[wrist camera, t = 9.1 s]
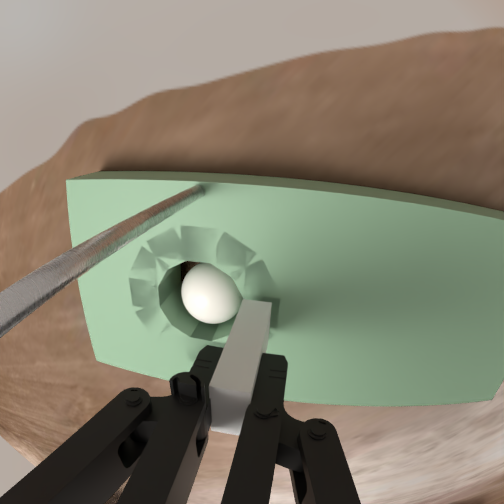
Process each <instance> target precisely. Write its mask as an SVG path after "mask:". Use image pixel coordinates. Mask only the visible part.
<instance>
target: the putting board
mask: <svg viewBox="0 0 504 504" xmlns="http://www.w3.org/2000/svg"><path fill="white" fill-rule="evenodd" d="M195 185H202V186H203V187H204V189H205V194H204V196H203V197H201V198H200V199H198V200H196V201H195V202H193V203H191V204H190V205H188V206H186V207H185V208H183V209H182V210H180V211H178V212H177V213H175V214H173V215H172V216H170V217H169V218H167V219H166V220H164V221H162V222H161V223H159V224H158V225H156V226H154V227H153V228H151V229H150V230H148V231H147V232H145V233H144V234H142V235H141V236H139V237H138V238H136V239H135V240H133V241H131V242H130V243H128V244H127V245H125V246H124V247H122V248H121V249H120V250H118V251H117V252H115V253H114V254H112V255H111V256H109V257H108V258H106V259H105V260H103V261H102V262H100V263H99V264H98V265H96V266H95V267H93V268H92V269H90V270H89V271H88V272H86V273H85V274H83V275H82V276H81V277H79V278H78V284H79V289H80V294H81V299H82V304H83V309H84V313H85V318H86V322H87V326H88V330H89V334H90V338H91V342H92V346H93V350H94V353H95V357H96V360H97V361H99V362H103V363H106V364H109V365H112V366H116V367H119V368H123V369H126V370H130V371H133V372H137V373H141V374H145V375H148V376H152V377H156V378H160V379H165V380H170V378H171V377H172V376H173V375H175V374H177V373H181V372H189V371H190V369H191V367H192V366H193V363H194V361H195V360H196V357H197V355H198V353H199V351H200V350H201V349H203V348H204V347H205V346H207V345H210V346H216V347H222V348H224V346H225V344H226V341H227V339H228V336H229V334H230V331H231V329H232V326H233V324H234V321H235V319H236V316H237V314H236V315H235V316H233V317H232V318H231V319H229V320H227V321H225V322H222V323H217V324H210V323H205V322H202V321H199V320H197V319H196V318H195V317H193V316H192V315H191V314H190V313H189V312H188V310H187V309H186V307H185V306H184V303H183V300H182V295H181V289H182V281H181V265H180V263H183V262H185V261H194V262H202V263H211V264H212V265H214V266H215V267H217V268H218V269H220V270H221V271H223V272H224V273H226V274H227V275H229V276H230V277H232V279H233V280H234V282H235V284H236V286H237V288H238V289H239V291H240V293H241V295H242V296H243V298H244V299H247V300H255V301H264V302H272V307H271V318H270V328H269V338H268V346H267V351H266V353H269V354H277V355H284V356H285V358H286V360H287V362H288V369H287V378H286V386H285V395H284V400H285V401H295V402H305V403H317V404H331V405H350V406H428V405H445V404H459V403H469V402H479V401H487V400H492V399H493V397H494V395H495V394H496V392H497V390H498V389H499V387H500V385H501V384H502V382H503V380H504V212H503V211H499V210H494V209H490V208H485V207H481V206H476V205H471V204H466V203H461V202H456V201H451V200H445V199H440V198H434V197H429V196H423V195H417V194H411V193H405V192H398V191H392V190H385V189H378V188H371V187H364V186H356V185H348V184H340V183H331V182H322V181H313V180H303V179H292V178H281V177H269V176H255V175H240V174H223V173H202V172H171V171H99V172H94V173H90V174H86V175H82V176H79V177H75V178H71V179H67V180H66V188H67V201H68V213H69V222H70V231H71V239H72V247H73V248H74V247H76V246H77V245H79V244H81V243H83V242H84V241H86V240H88V239H90V238H92V237H93V236H95V235H97V234H99V233H101V232H103V231H105V230H106V229H108V228H110V227H112V226H114V225H116V224H118V223H120V222H121V221H123V220H125V219H127V218H129V217H131V216H133V215H135V214H137V213H139V212H141V211H143V210H145V209H147V208H149V207H151V206H153V205H155V204H157V203H159V202H161V201H163V200H165V199H167V198H169V197H171V196H173V195H176V194H178V193H180V192H182V191H184V190H186V189H188V188H190V187H193V186H195ZM237 313H238V312H237Z"/></svg>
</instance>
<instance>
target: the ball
mask: <svg viewBox="0 0 504 504" xmlns="http://www.w3.org/2000/svg"><path fill="white" fill-rule="evenodd" d="M181 295H182V300H183V303H184V306H185V307H186V309H187V310H188V312H189V313H190V314H191V315H192V316H193V317H195V318H196V319H197V320H199V321H202V322H205V323H210V324H217V323H222V322H225V321H227V320H229V319H231V318H232V317H233V316H235V315H236V314H237V312H238V311H239V308H240V306H241V303H242V301H243V299H244V298H243V296H242V295H241V293H240V291H239V289H238V288H237V286H236V284H235V282H234V280H233V279H232V277H230V276H229V275H227V274H226V273H224V272H223V271H221V270H220V269H218V268H217V267H215V266H214V265H212V264H211V263H202V262H201V263H199V264H197V265H195V266H194V267H193V268H192V269H191V270H190V271H189V272H188V273H187V274H186V276H185V278H184V280H183V283H182V289H181Z"/></svg>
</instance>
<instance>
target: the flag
mask: <svg viewBox="0 0 504 504" xmlns="http://www.w3.org/2000/svg"><path fill="white" fill-rule="evenodd" d="M204 194H205V189H204V187H203V186H202V185H195V186H193V187H190V188H188V189H186V190H184V191H182V192H180V193H178V194H176V195H173V196H171V197H169V198H167V199H165V200H163V201H161V202H159V203H157V204H155V205H153V206H151V207H149V208H147V209H145V210H143V211H141V212H139V213H137V214H135V215H133V216H131V217H129V218H127V219H125V220H123V221H121V222H120V223H118V224H116V225H114V226H112V227H110V228H108V229H106V230H105V231H103V232H101V233H99V234H97V235H95V236H93V237H92V238H90V239H88V240H86V241H84V242H83V243H81V244H79V245H77V246H76V247H74V248H72V249H70V250H69V251H67V252H65V253H63V254H62V255H60V256H58V257H57V258H55V259H53V260H52V261H50V262H48V263H47V264H45V265H43V266H42V267H40V268H38V269H37V270H35V271H33V272H32V273H30V274H29V275H27V276H25V277H24V278H22V279H21V280H19V281H17V282H16V283H14V284H13V285H11V286H10V287H8V288H7V289H5V290H4V291H2V292H1V293H0V338H1V337H2V336H3V335H5V334H6V333H7V332H8V331H10V330H11V329H12V328H13V327H15V326H16V325H17V324H18V323H20V322H21V321H22V320H23V319H25V318H26V317H27V316H28V315H30V314H31V313H32V312H34V311H35V310H36V309H37V308H39V307H40V306H41V305H43V304H44V303H45V302H47V301H48V300H49V299H51V298H52V297H53V296H55V295H56V294H57V293H59V292H60V291H61V290H63V289H64V288H65V287H67V286H68V285H70V284H71V283H72V282H74V281H75V280H76V279H78V278H79V277H81V276H82V275H83V274H85V273H86V272H88V271H89V270H90V269H92V268H93V267H95V266H96V265H98V264H99V263H100V262H102V261H103V260H105V259H106V258H108V257H109V256H111V255H112V254H114V253H115V252H117V251H118V250H120V249H121V248H122V247H124V246H125V245H127V244H128V243H130V242H131V241H133V240H135V239H136V238H138V237H139V236H141V235H142V234H144V233H145V232H147V231H148V230H150V229H151V228H153V227H154V226H156V225H158V224H159V223H161V222H162V221H164V220H166V219H167V218H169V217H170V216H172V215H173V214H175V213H177V212H178V211H180V210H182V209H183V208H185V207H186V206H188V205H190V204H191V203H193V202H195V201H196V200H198V199H200V198H201V197H203V196H204Z"/></svg>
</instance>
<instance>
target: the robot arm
mask: <svg viewBox="0 0 504 504" xmlns="http://www.w3.org/2000/svg"><path fill="white" fill-rule="evenodd" d="M271 307H272V302H264V301H255V300H247V299H243V301H242V303H241V306H240V308H239V311H238V313H237V316H236V319H235V321H234V324H233V326H232V329H231V331H230V334H229V336H228V339H227V341H226V344H225V346H224V348H222V347H216V346H210V345H207V346H205V347H204V348H203V349H201V350H200V351H199V353H198V355H197V357H196V360H195V361H194V363H193V366H192V367H191V369H190V371H189V372H181V373H177V374H175V375H173V376H172V377H171V378H170V380H169V382H170V388H171V394H172V395H170V396H165V397H150V396H149V394H148V392H146V391H145V390H144V389H141V388H128V389H125V390H124V391H122V392H120V393H119V394H118V395H117V396H116V397H115V398H114V399H113V400H112V401H110V402H109V403H108V404H107V405H106V406H105V407H104V408H103V409H101V410H100V411H99V412H98V413H97V414H96V415H95V416H94V417H92V418H91V419H90V420H89V421H88V422H87V423H86V424H85V425H83V426H82V427H81V428H80V429H79V430H78V431H77V432H75V433H74V434H73V435H72V436H71V437H70V438H69V439H68V440H66V441H65V442H64V443H63V444H62V445H61V446H60V447H58V448H57V449H56V450H55V451H54V452H53V453H51V454H50V455H49V456H48V457H47V458H46V459H45V460H43V461H42V462H41V463H40V464H39V465H38V466H37V467H35V468H34V469H33V470H32V471H31V472H30V473H28V474H27V475H26V476H25V477H24V478H23V479H21V480H20V481H19V482H18V483H17V484H16V485H14V486H13V487H12V488H11V489H10V490H9V491H7V492H6V493H5V494H4V495H3V496H2V497H0V504H105V503H106V501H107V500H108V499H109V498H110V497H111V496H112V495H113V494H114V493H115V492H116V491H117V490H118V489H119V488H120V486H121V485H122V484H123V483H124V482H125V481H126V480H127V479H128V478H129V477H130V478H129V480H128V482H127V484H126V486H125V488H124V490H123V492H122V494H121V496H120V498H119V500H118V502H117V504H186V503H187V500H188V497H189V494H190V492H191V489H192V486H193V483H194V480H195V477H196V474H197V472H198V469H199V466H200V463H201V460H202V457H203V454H204V451H205V448H206V445H207V442H208V431H209V428H210V425H211V430H212V431H217V432H222V433H228V434H233V435H239V439H238V443H237V447H236V450H235V454H234V458H233V462H232V465H231V469H230V473H229V476H228V480H227V484H226V487H225V491H224V494H223V498H222V501H221V504H269V499H270V493H271V487H272V481H273V475H274V469H275V463H276V464H278V465H281V466H283V467H286V468H288V469H289V471H290V476H291V481H292V487H293V492H294V497H295V502H296V504H361V503H360V500H359V497H358V494H357V491H356V488H355V485H354V482H353V479H352V476H351V473H350V470H349V467H348V464H347V461H346V458H345V455H344V452H343V449H342V446H341V443H340V440H339V437H338V434H337V431H336V429H335V427H334V426H333V424H331V423H330V422H329V421H326V420H324V419H316V418H314V419H310V420H307V421H306V422H302V421H299V420H296V419H294V418H292V417H291V416H290V415H288V414H287V412H286V411H285V409H284V404H283V402H284V395H285V386H286V378H287V369H288V362H287V360H286V358H285V356H284V355H277V354H269V353H266V351H267V346H268V338H269V328H270V318H271ZM130 475H131V476H130Z"/></svg>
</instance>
